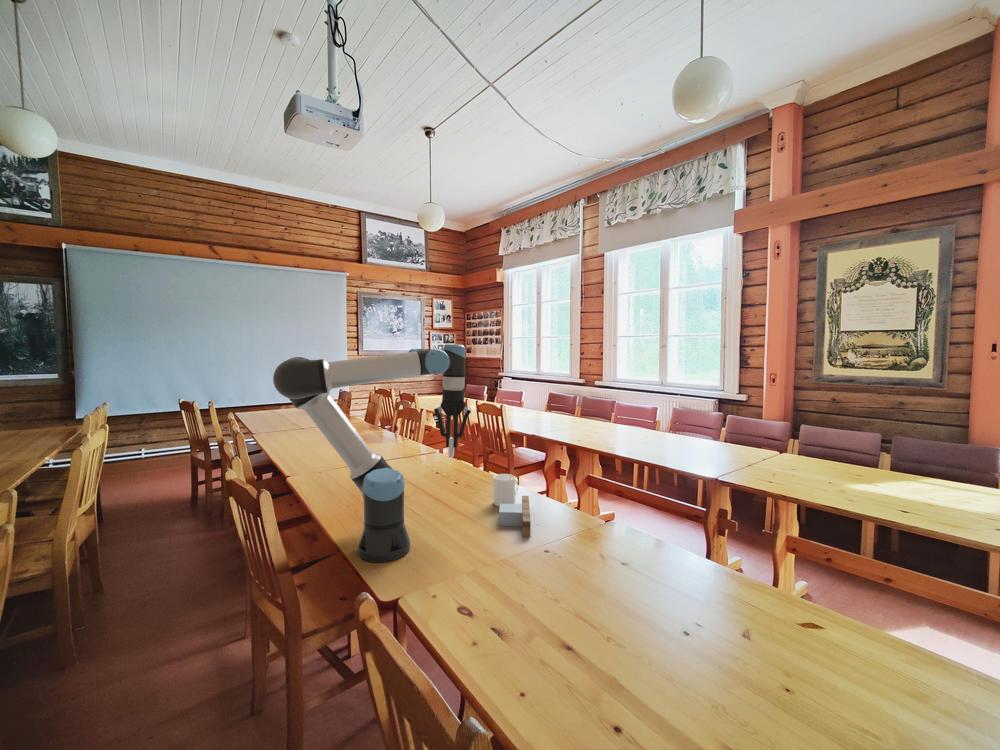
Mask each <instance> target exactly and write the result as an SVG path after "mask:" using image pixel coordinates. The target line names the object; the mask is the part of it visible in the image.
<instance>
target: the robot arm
mask: <svg viewBox="0 0 1000 750" xmlns="http://www.w3.org/2000/svg"><path fill="white" fill-rule="evenodd" d="M466 359H467V358H466V346H464V344H452V343H451V344H449V343H446V344H444V345H443V349H439V348H433V349H431V348H410V349H409V350H408V352H402V353H392V354H386V355H385V354H384V355H375V356H369V357H368V356H367V357H359V358H351V359H343V360H334V361H327V360H326V359H324V358H321V359H320V358H319V359H309V358H307V357H300V356H296V357H295V356H294V357H290V358H289V359H287V360H284V361H283V362H281V363H280V364H279V365H277V367H276V368H275V370H274V371H273V379H272V382H273V385H274V388H275V389H276V391H277V392H278V393H279V394H280V395H281V396H283V397H285V398H287V399H289V401H290V402H291V403H292V405H293V406H294V407H295V408H296V409H297V410H303V411H305V413H306V414H307V415H308V417H309V418H310V420H312V421H313V423H314V424H315V426H316V427H317V429H318V430H320V432H321V433H322V434H323V436H324V437H325V439H326V440H327V441H328V442H329V444H330V445H331V446H332V448H333V449H334V450H335V452H336V454H338V456H339V457H340V458H341V460H342V461H343V462H344V463H345V465H346V466H347V467H348V468H349V470H350V473H349V478H350V479H351V480H352V482H353V484H355V486H356V487H357V488H358V490H359V491H360V492H361V496H362V499H363V530H362V533H361V536H360V539H359V542H358V545H357V554H358V557H359V558H360V559H361V560H363V561H365V562H371V563H386V562H392V561H395V560H399V559H401V558H402V557H404V556H405V555H407V554H408V553H409V552H410V550H411V539H410V536H409V533H408V530H407V528H406V525H405V481H404V480H405V479H404V475H403V473H401V471H399V470H395V469H394V468H393V467H392V466H390V465H389V464H388V463H387V461H386V459H385V458H384V457H383V456H382V455H381V453H374V452H373V450H372V449H371V447H369V445H368V443H367V442H366V441H365V439H364V438H363V437H362V435H361V434H360V433H359V431H358V430H357V428H355V426H354V425H353V423H351V420H350V419H349V418H348V417H347V416H346V414H345V413H344V411H343V410H342V408H341V407H340V406H339V405H338V403H337V402H336V401H335V399H334V398H333V396H332V395H331V393H330V392H331V391H332V390H333V389H339V388H345V387H351V386H358V385H367V384H371V383H372V384H373V383H379V382H387V381H393V380H399V379H406V378H408V379H409V378H415V377H421V376H429V375H435V376H436V375H437V376H438V375H441V374H442V392H441V393H442V394H441V395H442V396H441V397H442V398H441V399H442V401H441V403H440V405H439V406H438V407H435V408H434V410H433V412H434V413H435V415H436V418H437V423H438V427H439V433H440V436H441V437H444V438H445V439H446V440H445V447H446V448H448V458H454V456H455V448H457V447H458V441H459V440H458V439H459V438H462V437H463V435H464V432H465V428H466V425H467V421H468V418H469V415H470V414H471V413H472V410H471V408H467V406H466V404H465V390H464V389H465V387H466V385H465V383H466V382H465V377H466V376H465V375H466ZM443 412H444V414H445V417H446V421H445V422H446V424H445V425H444V420H443V414H442V413H443ZM462 412H463V415H464V416H463V419H462V421H461V422H462V423H461V424H460V428H459V417H460V415H461V414H462ZM452 417H453V436H452V434H451V433H452Z"/></svg>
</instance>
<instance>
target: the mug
mask: <svg viewBox="0 0 1000 750" xmlns="http://www.w3.org/2000/svg"><path fill="white" fill-rule="evenodd" d="M492 477H493V479H492V484H493V485H492V486H493V488H492V489H493V490H492V491H493V493H492V494H493V495H492V497H493V498H492V499H493V500H492V501H493V504H494V505H495V506H496V507H498V506H499V508H500V504H516V495H517V492H518V489H519V488H518V487H519V484H518V483H519V482H518V481H517V479H516V475H513V474H511V473H498V474H495V475H493V476H492Z"/></svg>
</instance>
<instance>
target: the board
mask: <svg viewBox="0 0 1000 750" xmlns="http://www.w3.org/2000/svg"><path fill="white" fill-rule="evenodd" d="M521 504H522V526H521V527H522V529H521V530H522V531H521V532H522V537H531V509H530V497H529V495H521Z"/></svg>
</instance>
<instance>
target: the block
mask: <svg viewBox="0 0 1000 750" xmlns="http://www.w3.org/2000/svg"><path fill="white" fill-rule="evenodd" d="M498 526H499V527H522V503H514V504H500V507H499V512H498Z"/></svg>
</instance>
